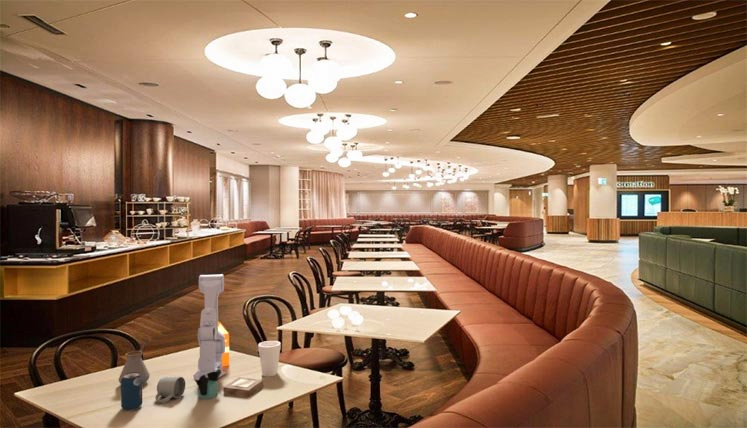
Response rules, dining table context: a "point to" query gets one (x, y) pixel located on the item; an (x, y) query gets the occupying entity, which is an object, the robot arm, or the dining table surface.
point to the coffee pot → (136, 364)
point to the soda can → (131, 391)
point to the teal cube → (209, 390)
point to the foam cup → (269, 357)
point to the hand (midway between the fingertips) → (208, 392)
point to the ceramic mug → (170, 388)
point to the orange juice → (226, 355)
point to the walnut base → (243, 387)
